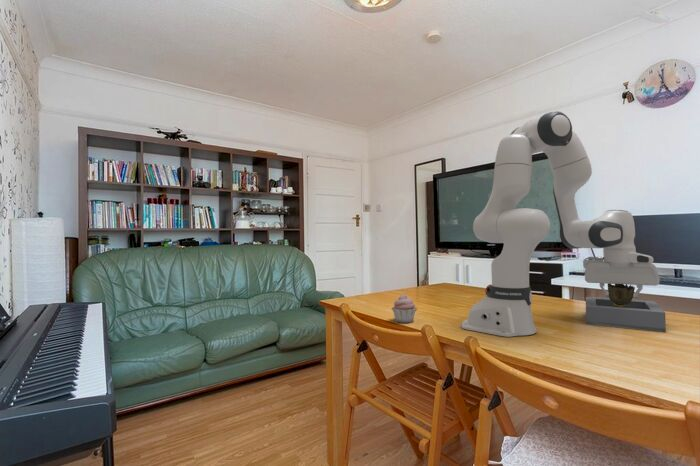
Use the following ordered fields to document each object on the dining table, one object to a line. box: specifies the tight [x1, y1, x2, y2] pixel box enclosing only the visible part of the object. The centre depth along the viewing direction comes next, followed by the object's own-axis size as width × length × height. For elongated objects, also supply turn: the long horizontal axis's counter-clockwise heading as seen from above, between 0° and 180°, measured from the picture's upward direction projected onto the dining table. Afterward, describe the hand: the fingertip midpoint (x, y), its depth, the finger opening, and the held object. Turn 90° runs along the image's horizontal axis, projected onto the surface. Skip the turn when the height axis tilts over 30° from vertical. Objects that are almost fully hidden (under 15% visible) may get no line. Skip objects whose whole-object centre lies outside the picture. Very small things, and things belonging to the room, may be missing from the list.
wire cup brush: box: [607, 284, 636, 308], centre depth 120 cm, size 8×7×8 cm
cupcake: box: [391, 293, 418, 324], centre depth 127 cm, size 9×9×10 cm
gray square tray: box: [585, 296, 667, 333], centre depth 119 cm, size 20×20×6 cm
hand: (620, 297), depth 119 cm, fingers closed on wire cup brush, 7 cm apart
